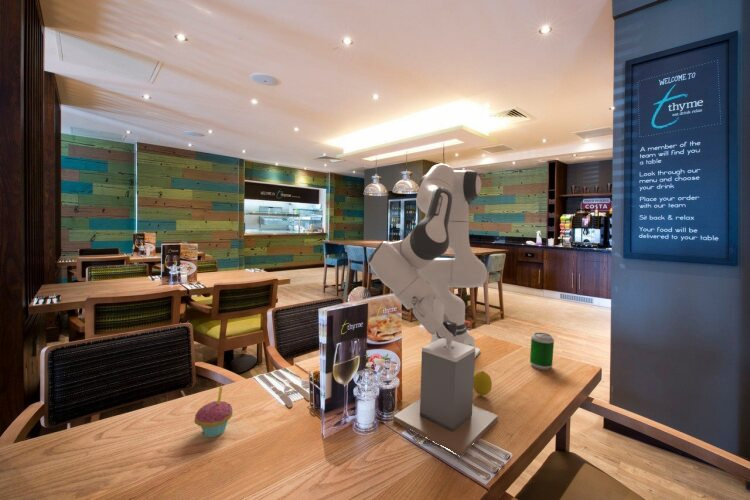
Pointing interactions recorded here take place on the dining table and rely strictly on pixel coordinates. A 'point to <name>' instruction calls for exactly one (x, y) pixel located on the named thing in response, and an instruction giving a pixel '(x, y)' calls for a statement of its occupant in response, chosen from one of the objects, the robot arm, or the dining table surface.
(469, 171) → the robot arm
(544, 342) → the soda can
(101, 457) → the dining table surface
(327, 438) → the dining table surface
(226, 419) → the cupcake
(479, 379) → the lemon
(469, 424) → the press
